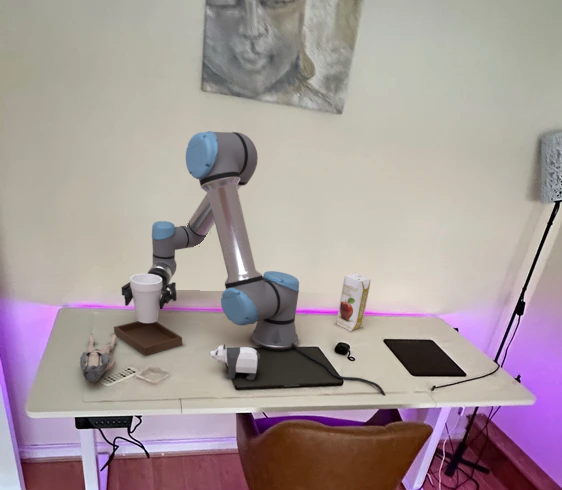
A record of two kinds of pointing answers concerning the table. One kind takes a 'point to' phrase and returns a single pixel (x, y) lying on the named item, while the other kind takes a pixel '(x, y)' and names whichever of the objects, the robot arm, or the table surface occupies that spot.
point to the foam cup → (146, 296)
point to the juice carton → (353, 301)
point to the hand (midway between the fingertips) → (143, 303)
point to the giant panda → (237, 360)
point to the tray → (148, 337)
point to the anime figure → (96, 360)
